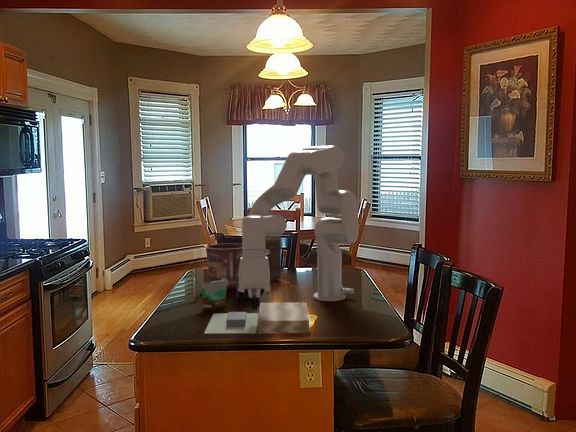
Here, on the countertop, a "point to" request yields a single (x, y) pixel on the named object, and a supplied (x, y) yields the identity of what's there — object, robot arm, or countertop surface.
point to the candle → (274, 256)
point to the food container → (214, 293)
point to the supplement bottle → (239, 294)
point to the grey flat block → (236, 319)
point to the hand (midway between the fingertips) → (254, 308)
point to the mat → (219, 327)
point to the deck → (283, 318)
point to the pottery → (224, 262)
